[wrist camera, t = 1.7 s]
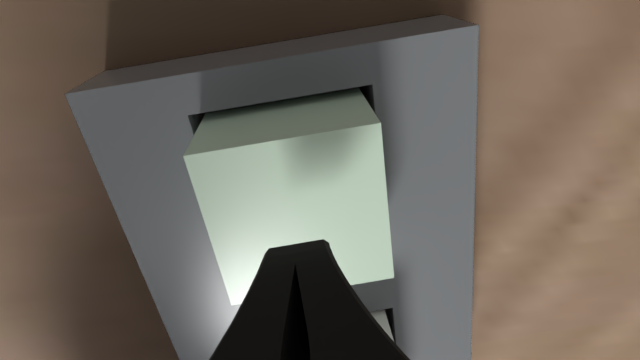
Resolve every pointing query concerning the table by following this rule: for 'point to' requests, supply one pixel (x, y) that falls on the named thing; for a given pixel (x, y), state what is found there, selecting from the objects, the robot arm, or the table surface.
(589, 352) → the table surface
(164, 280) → the button housing
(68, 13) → the table surface
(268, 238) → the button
